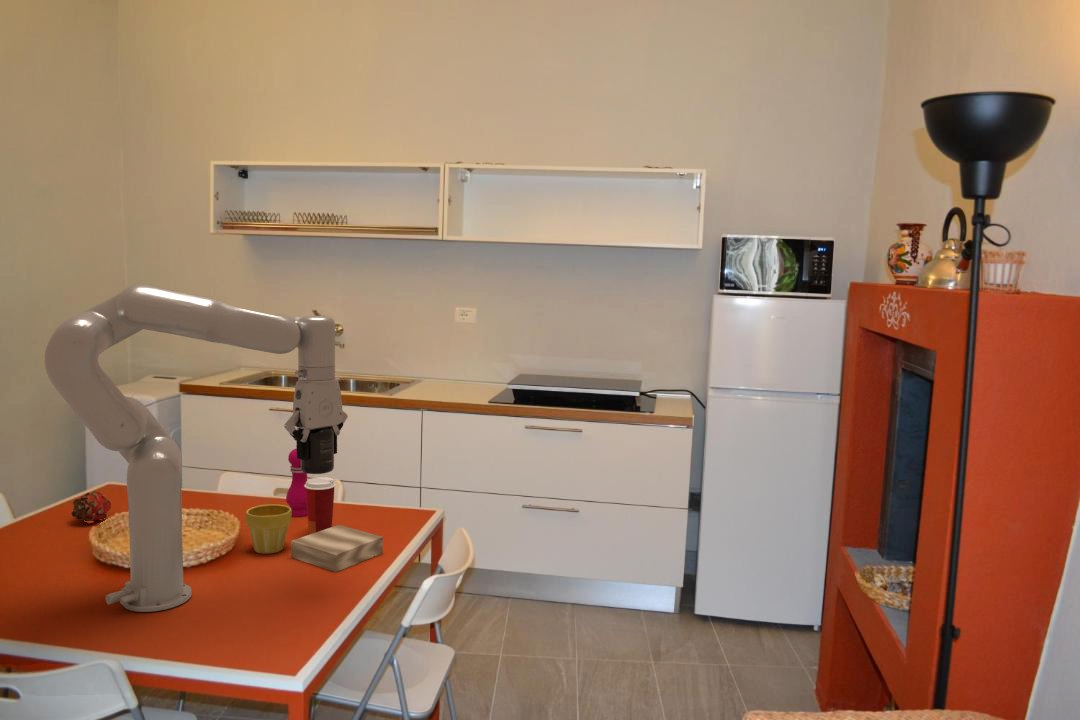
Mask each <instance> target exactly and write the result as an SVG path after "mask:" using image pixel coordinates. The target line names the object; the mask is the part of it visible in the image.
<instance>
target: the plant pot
mask: <svg viewBox="0 0 1080 720" xmlns="http://www.w3.org/2000/svg"><path fill="white" fill-rule="evenodd" d="M292 517H293V516H292V510H291V508H290V506H289V505H285V504H278V503H277V504H276V503H275V504H272V503H270V504H260V505H256V506H253V507H250V508H248V509H247V510H246V512H245V525H246V527H248V528H249V532H250V537H251V542H252V546H253V550H254V552H255V553H257V554H265V555H270V554H274V553H275V554H276V553H278V552H281V551H282V550H283V549H284V545H285V543H286V542H285V541H286V537H287V532H288V527H289V526H290V524H291V523H292Z"/></svg>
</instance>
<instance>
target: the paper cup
mask: <svg viewBox="0 0 1080 720" xmlns="http://www.w3.org/2000/svg"><path fill="white" fill-rule="evenodd" d="M336 486H337V484H336V482H335V480H334V479H333V478H331V477H325V476H320V477H313V478H309V479H307V482H306V484H305V485H304V487H305V488H306V497H307V514H308V515H307V524H308V525H307V527H308V535H310V534H313V533H316V532H319V531H322V530H325V529H328V528H331V527H333V516H334V515H333V513H334V503H335V502H334V501H335V487H336Z"/></svg>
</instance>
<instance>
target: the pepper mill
mask: <svg viewBox="0 0 1080 720" xmlns="http://www.w3.org/2000/svg"><path fill="white" fill-rule="evenodd" d="M287 459H288V462H289V464H290V466H289V467H290V470H289V471H290V472H291V476H292V477H291V483H290V486H289V488H288V489H287V493H286V497H285V501H286V503H287V504H288V506H289V507H290V508H291V510H292V517H293V516H294V517H295V518H296V517H298V518H300V517H306V516H307V517H308V514H307V497H306V488H305V487H304V485H305V484H306V482H307V480H308V474H307V473H304V472H303V471H302V470H301V459H298V458H297V444H296V448H294V449H291V451H289V454H288V457H287Z"/></svg>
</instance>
